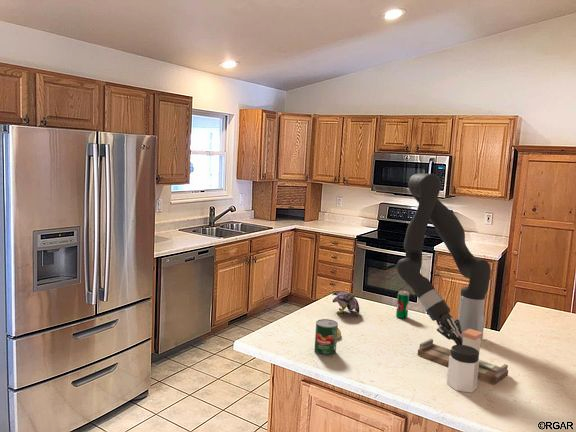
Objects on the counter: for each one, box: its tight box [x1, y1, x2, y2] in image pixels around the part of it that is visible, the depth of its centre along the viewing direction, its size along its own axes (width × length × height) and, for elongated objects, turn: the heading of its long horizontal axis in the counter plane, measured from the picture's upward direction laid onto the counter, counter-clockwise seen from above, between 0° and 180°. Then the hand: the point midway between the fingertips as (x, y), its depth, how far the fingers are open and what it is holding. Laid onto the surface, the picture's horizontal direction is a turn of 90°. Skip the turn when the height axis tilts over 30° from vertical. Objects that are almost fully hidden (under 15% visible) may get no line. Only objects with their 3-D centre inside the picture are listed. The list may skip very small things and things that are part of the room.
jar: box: [446, 344, 480, 394], centre depth 141 cm, size 9×8×12 cm
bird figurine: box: [331, 290, 360, 317], centre depth 204 cm, size 15×12×15 cm
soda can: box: [395, 290, 410, 320], centre depth 203 cm, size 5×5×12 cm
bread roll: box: [337, 327, 342, 340], centre depth 177 cm, size 8×9×4 cm
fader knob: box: [462, 329, 484, 360], centre depth 154 cm, size 5×6×10 cm
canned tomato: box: [313, 318, 339, 358], centre depth 161 cm, size 8×8×11 cm
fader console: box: [417, 338, 509, 386], centre depth 156 cm, size 28×10×4 cm, turn 44°
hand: (463, 347), depth 156 cm, fingers closed
